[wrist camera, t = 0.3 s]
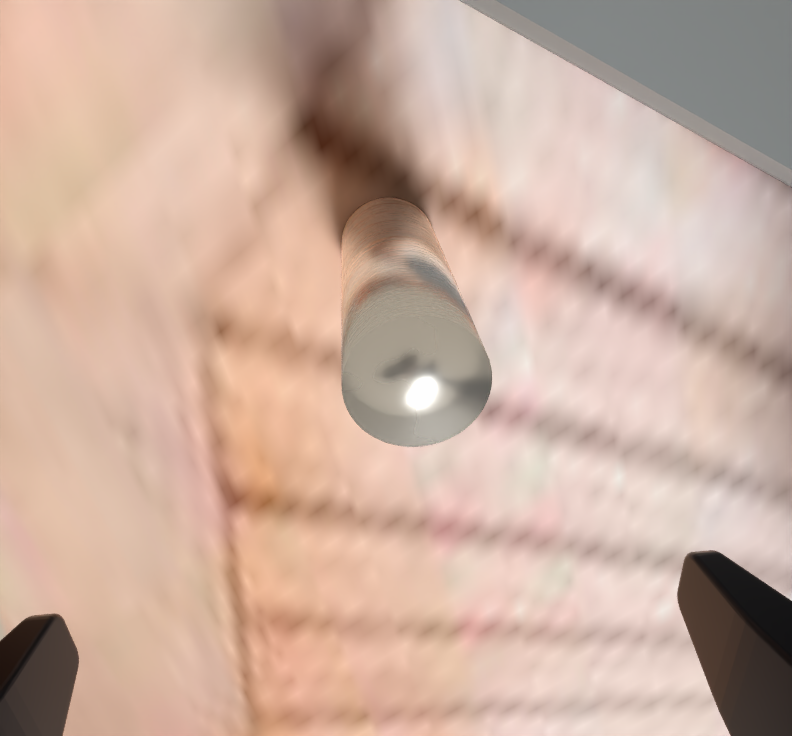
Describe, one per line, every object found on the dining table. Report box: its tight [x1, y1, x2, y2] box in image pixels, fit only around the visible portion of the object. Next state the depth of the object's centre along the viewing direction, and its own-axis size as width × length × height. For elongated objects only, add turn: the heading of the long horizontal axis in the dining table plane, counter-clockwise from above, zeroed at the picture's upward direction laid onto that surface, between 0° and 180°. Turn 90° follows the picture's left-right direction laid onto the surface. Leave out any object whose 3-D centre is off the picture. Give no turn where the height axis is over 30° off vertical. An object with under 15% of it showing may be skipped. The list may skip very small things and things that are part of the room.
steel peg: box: [341, 197, 492, 447], centre depth 17 cm, size 3×3×9 cm
